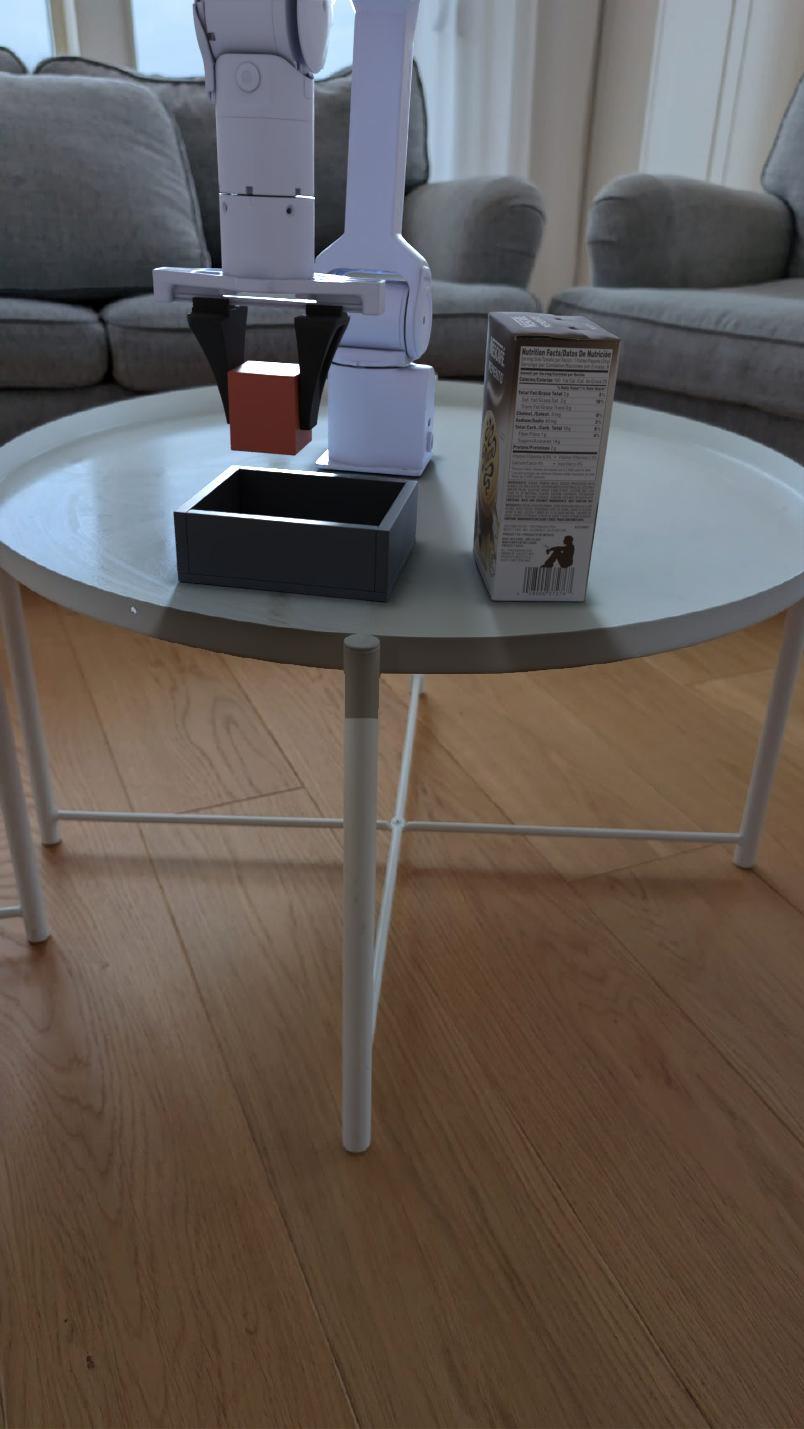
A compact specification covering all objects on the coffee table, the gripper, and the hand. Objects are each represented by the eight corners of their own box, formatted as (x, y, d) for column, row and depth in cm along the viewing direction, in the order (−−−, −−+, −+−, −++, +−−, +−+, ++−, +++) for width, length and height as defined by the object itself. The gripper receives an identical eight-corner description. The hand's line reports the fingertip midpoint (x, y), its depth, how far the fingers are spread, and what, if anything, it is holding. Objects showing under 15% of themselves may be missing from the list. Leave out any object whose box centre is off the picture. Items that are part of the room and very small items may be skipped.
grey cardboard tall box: (468, 553, 72) (486, 310, 65) (557, 554, 73) (585, 313, 65) (488, 602, 64) (511, 331, 57) (589, 603, 65) (625, 334, 57)
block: (312, 440, 71) (312, 365, 68) (295, 456, 67) (294, 376, 64) (250, 436, 71) (248, 360, 69) (230, 450, 67) (227, 371, 65)
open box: (415, 543, 74) (418, 480, 72) (386, 602, 64) (389, 531, 62) (233, 527, 76) (231, 465, 74) (177, 581, 66) (172, 511, 63)
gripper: (126, 191, 59) (144, 428, 66) (371, 202, 57) (366, 446, 64) (170, 189, 66) (183, 407, 72) (394, 200, 64) (387, 422, 70)
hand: (271, 424), depth 68 cm, fingers closed on block, 4 cm apart
